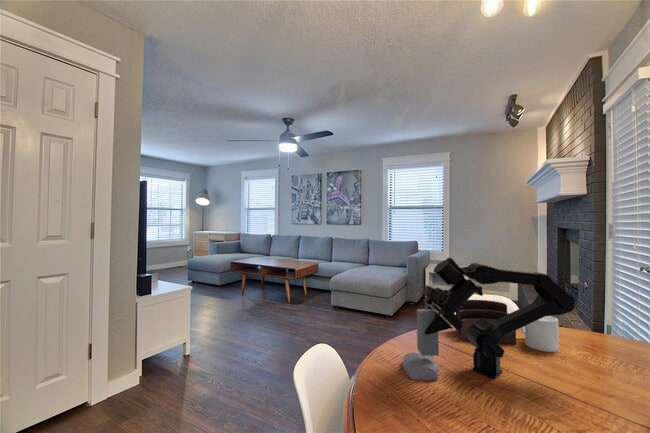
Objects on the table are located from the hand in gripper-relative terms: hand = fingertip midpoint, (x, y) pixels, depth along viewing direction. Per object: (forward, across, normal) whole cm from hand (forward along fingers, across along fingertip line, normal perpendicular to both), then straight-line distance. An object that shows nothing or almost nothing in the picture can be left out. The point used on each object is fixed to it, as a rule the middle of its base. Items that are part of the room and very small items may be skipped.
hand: (422, 330), depth 91 cm
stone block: (+10, 0, +8) cm, 13 cm away
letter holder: (-14, -28, +33) cm, 46 cm away
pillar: (+4, 0, +6) cm, 7 cm away
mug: (-26, -21, +45) cm, 56 cm away
